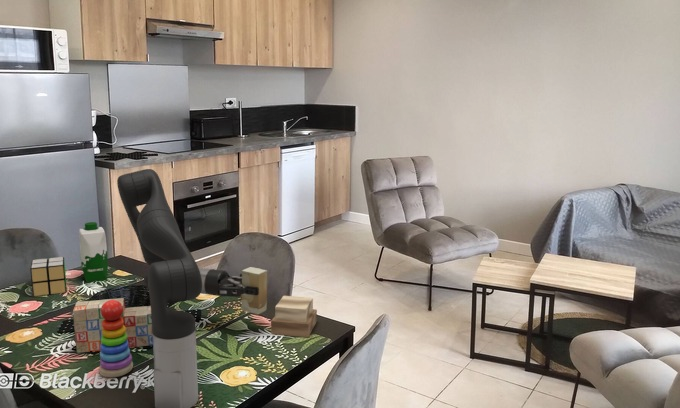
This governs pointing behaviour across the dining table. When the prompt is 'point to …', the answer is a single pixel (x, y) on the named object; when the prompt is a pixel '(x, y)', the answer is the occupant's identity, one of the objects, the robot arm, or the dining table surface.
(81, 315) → the stack of blocks
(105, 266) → the milk carton
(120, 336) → the stacking toy
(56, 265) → the puzzle cube
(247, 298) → the skincare box
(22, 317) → the dining table surface
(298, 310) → the stepped wooden pedestal
